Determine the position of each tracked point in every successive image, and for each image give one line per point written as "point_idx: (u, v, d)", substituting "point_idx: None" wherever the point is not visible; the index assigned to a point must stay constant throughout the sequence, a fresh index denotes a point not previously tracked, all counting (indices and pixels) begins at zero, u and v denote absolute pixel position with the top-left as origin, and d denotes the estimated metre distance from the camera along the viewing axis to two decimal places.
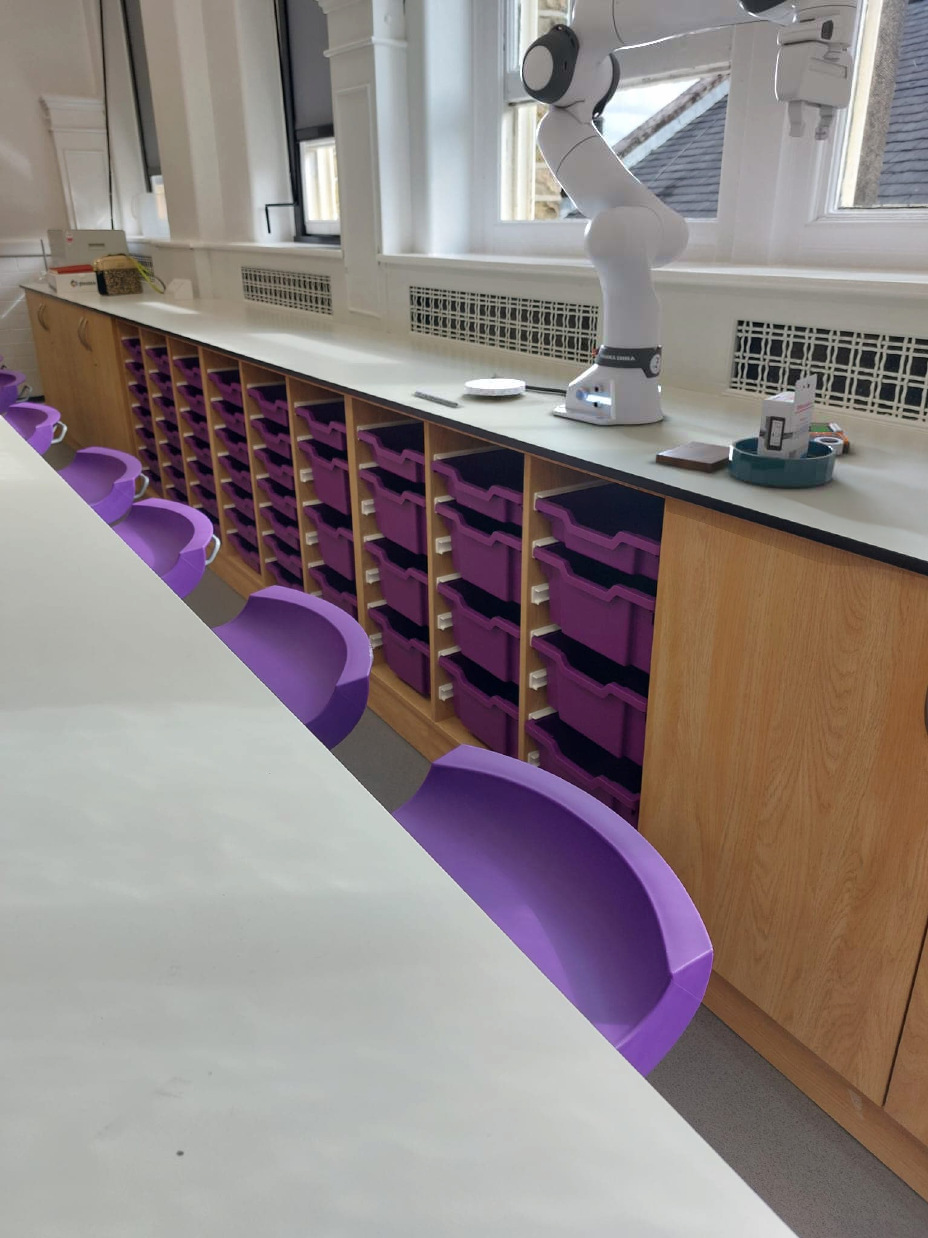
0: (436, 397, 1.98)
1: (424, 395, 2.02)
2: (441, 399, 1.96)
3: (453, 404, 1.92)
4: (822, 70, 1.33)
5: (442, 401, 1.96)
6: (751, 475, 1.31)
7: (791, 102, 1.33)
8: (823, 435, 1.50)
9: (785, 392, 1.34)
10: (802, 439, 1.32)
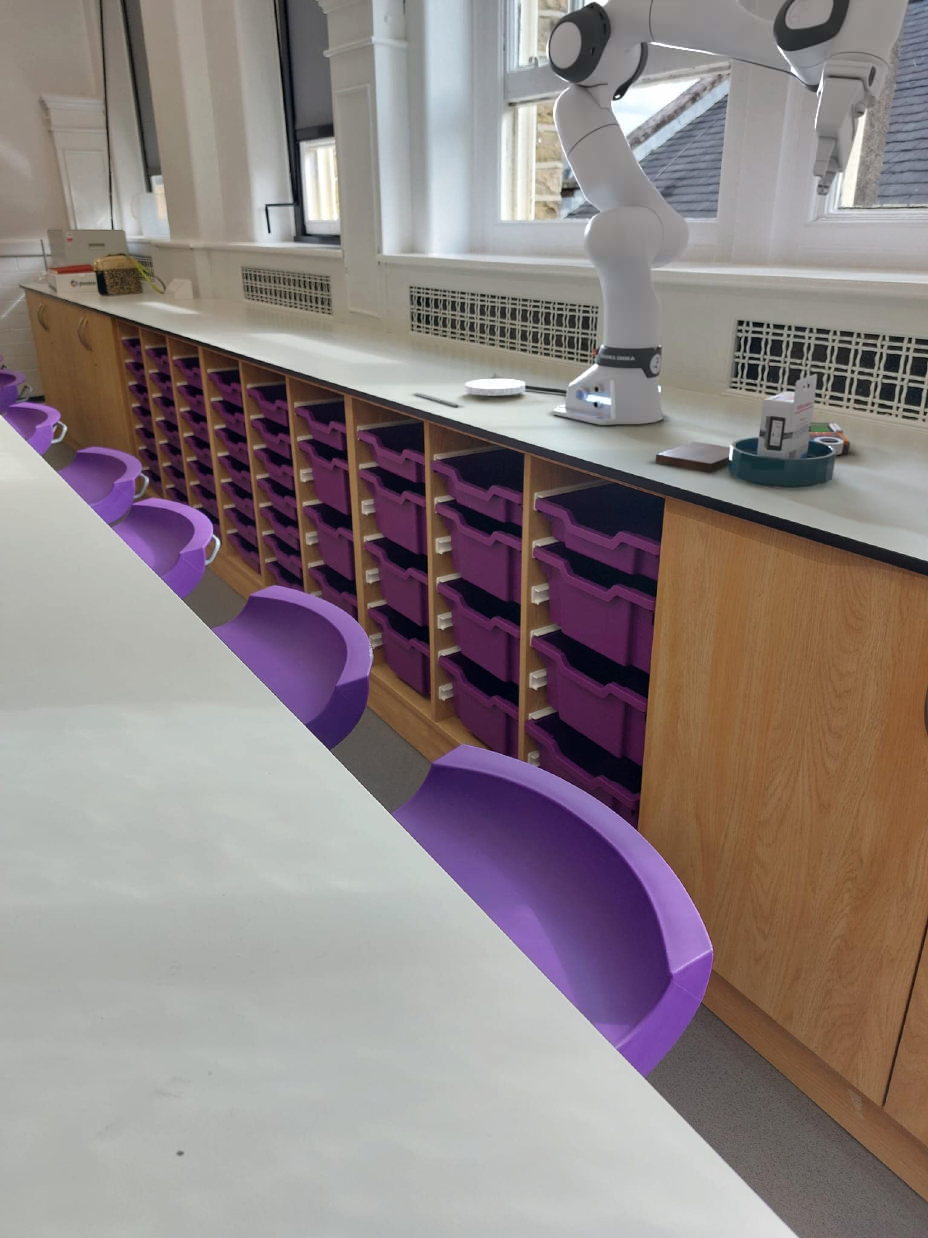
0: (436, 399, 1.98)
1: (424, 397, 2.03)
2: (441, 401, 1.96)
3: (453, 406, 1.92)
4: (849, 118, 1.30)
5: None
6: (751, 475, 1.31)
7: (823, 137, 1.28)
8: (823, 435, 1.50)
9: (785, 392, 1.34)
10: (802, 439, 1.32)
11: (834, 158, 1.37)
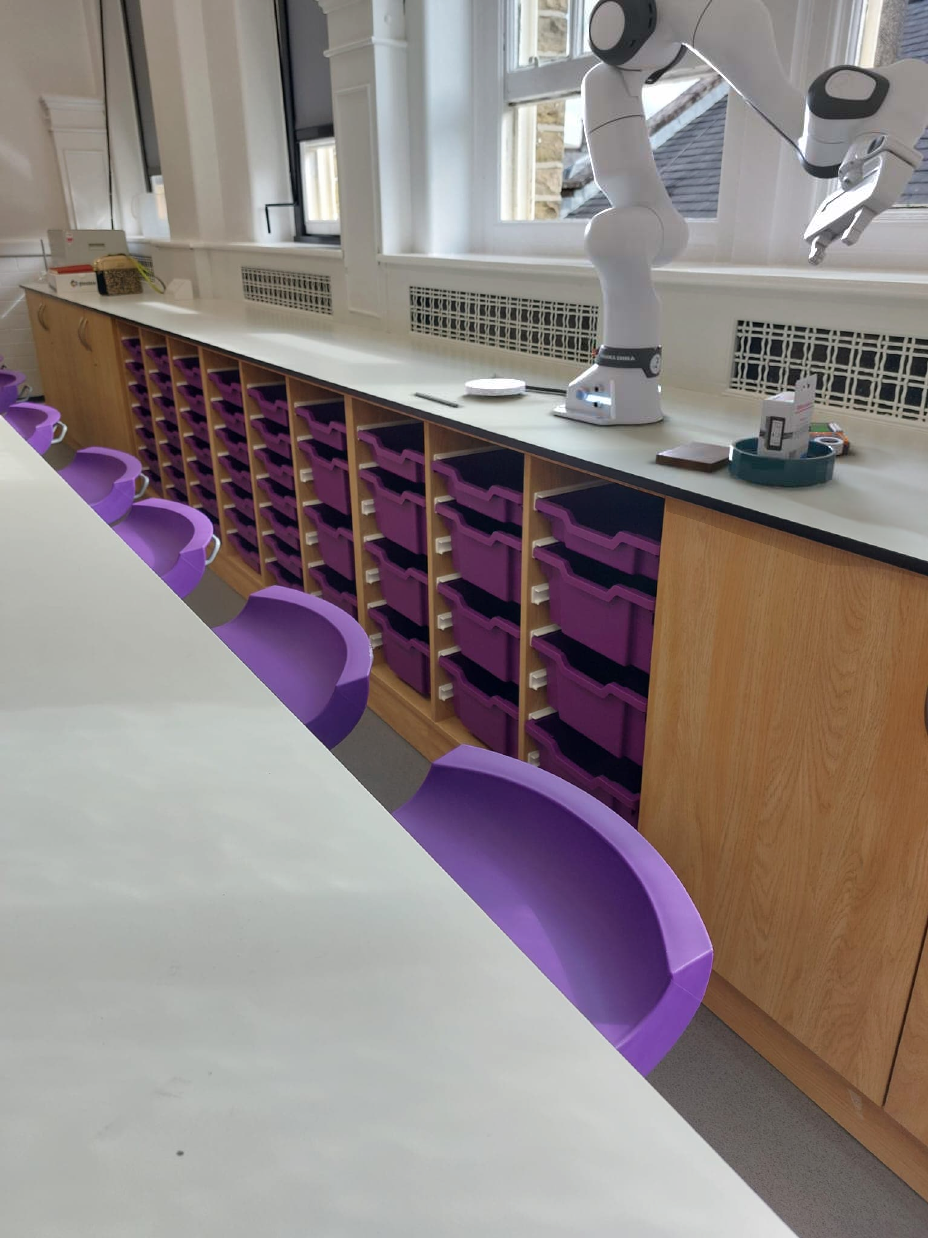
0: (436, 398, 1.98)
1: (424, 396, 2.03)
2: (441, 400, 1.96)
3: (453, 405, 1.92)
4: None
5: (442, 402, 1.96)
6: (751, 475, 1.31)
7: (866, 208, 1.26)
8: (823, 435, 1.50)
9: (785, 392, 1.34)
10: (802, 439, 1.32)
11: (831, 233, 1.37)
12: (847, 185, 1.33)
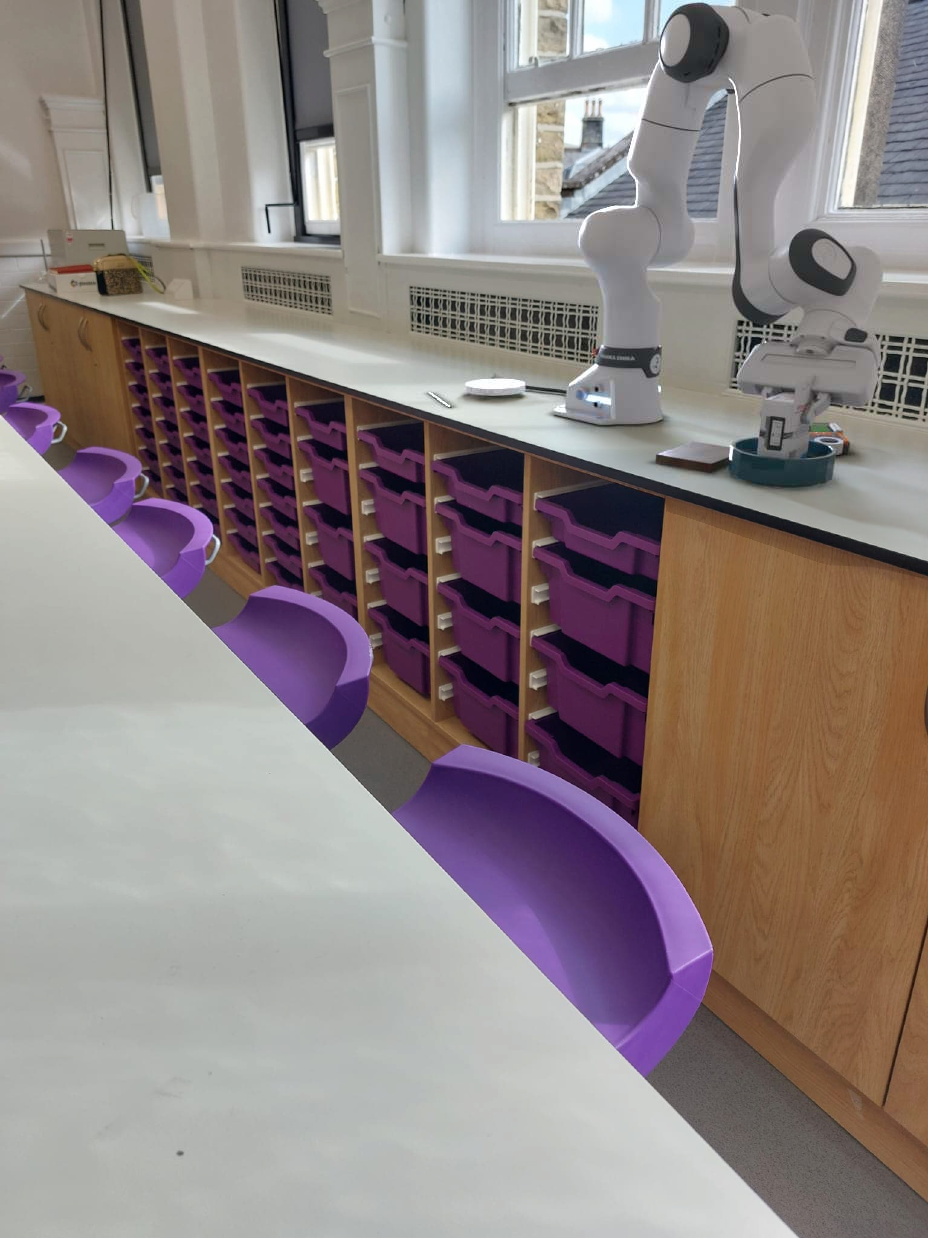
0: (440, 399, 1.99)
1: (433, 396, 2.04)
2: (442, 401, 1.97)
3: (448, 407, 1.92)
4: None
5: None
6: (751, 475, 1.31)
7: (829, 396, 1.29)
8: (823, 435, 1.50)
9: (785, 392, 1.34)
10: (802, 439, 1.32)
11: (781, 390, 1.34)
12: (805, 353, 1.32)
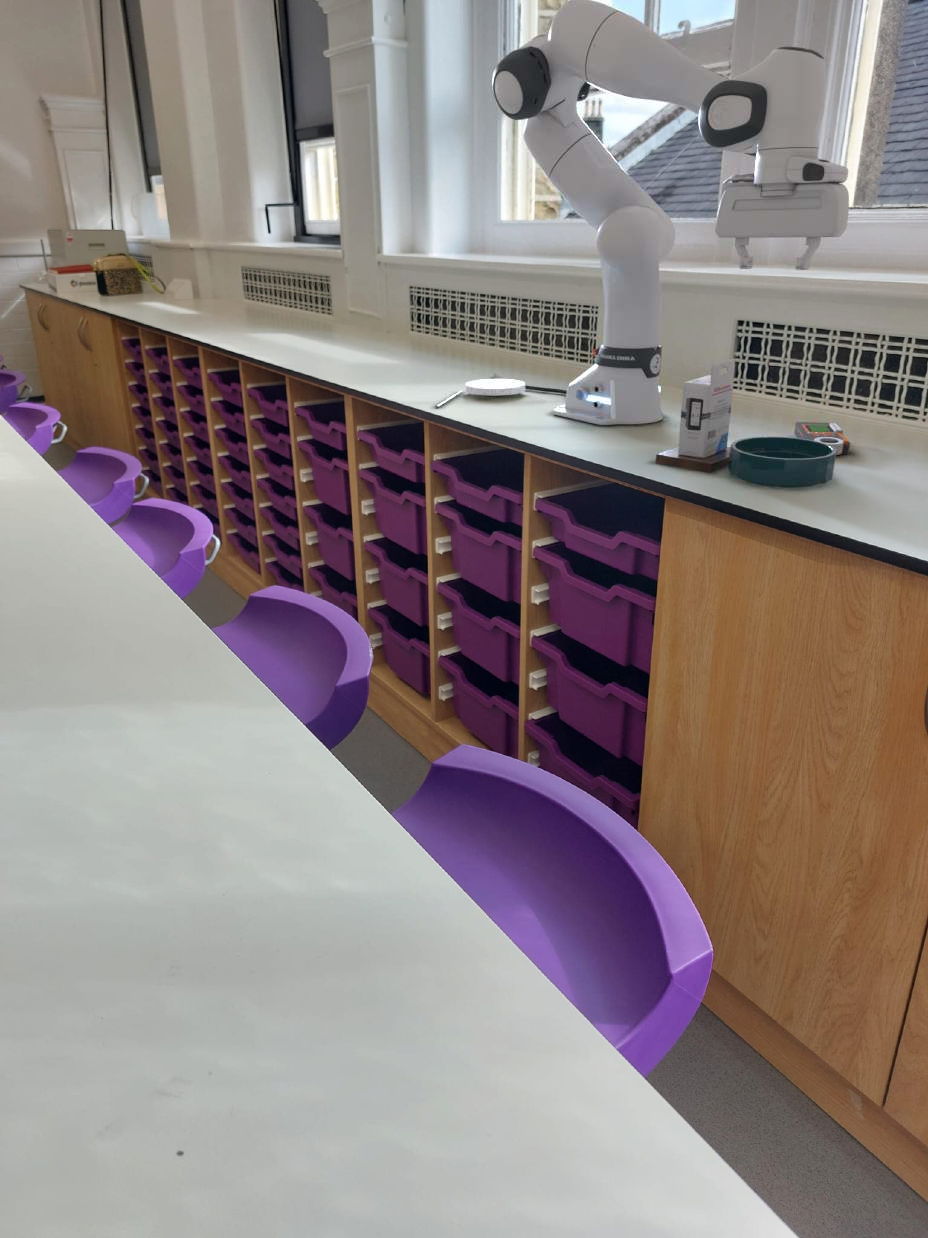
0: None
1: (453, 395, 2.04)
2: (444, 400, 1.97)
3: None
4: None
5: None
6: (751, 475, 1.31)
7: (816, 238, 1.33)
8: (823, 435, 1.50)
9: (706, 376, 1.43)
10: (721, 420, 1.41)
11: None
12: (771, 196, 1.34)
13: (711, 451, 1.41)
